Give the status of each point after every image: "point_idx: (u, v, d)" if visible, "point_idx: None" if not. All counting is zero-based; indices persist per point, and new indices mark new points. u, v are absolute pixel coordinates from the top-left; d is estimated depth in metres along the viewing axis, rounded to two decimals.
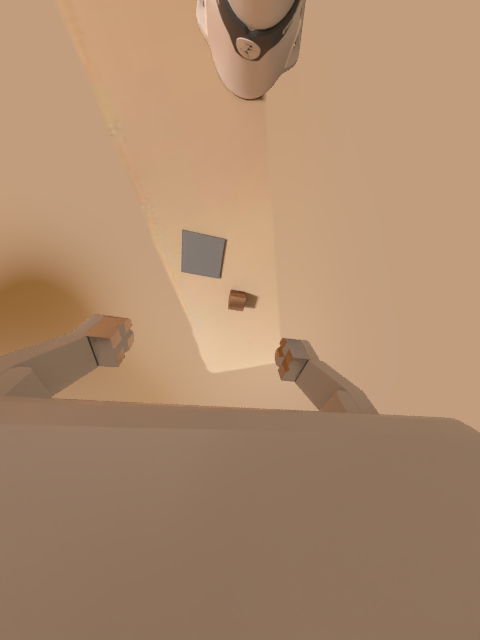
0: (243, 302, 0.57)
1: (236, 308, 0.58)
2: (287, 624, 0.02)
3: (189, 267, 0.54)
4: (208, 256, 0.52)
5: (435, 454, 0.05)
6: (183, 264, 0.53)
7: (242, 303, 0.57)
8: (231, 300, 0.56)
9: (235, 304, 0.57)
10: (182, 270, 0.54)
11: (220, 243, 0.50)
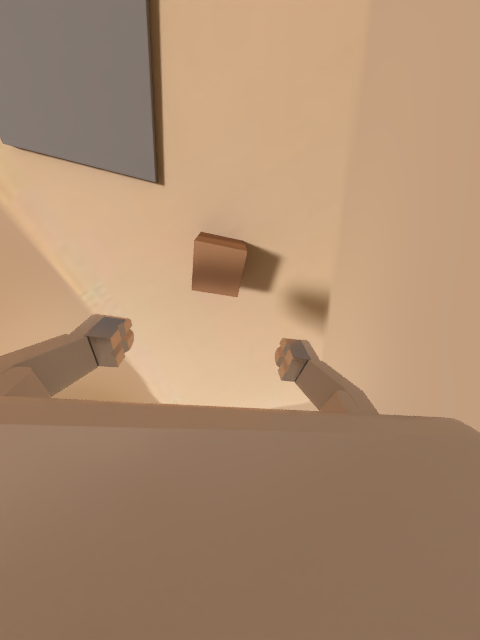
0: (239, 266, 0.17)
1: (218, 287, 0.18)
2: (287, 624, 0.02)
3: (24, 119, 0.14)
4: (87, 55, 0.12)
5: (435, 454, 0.05)
6: None
7: (237, 270, 0.17)
8: (197, 258, 0.17)
9: (214, 275, 0.18)
10: (4, 136, 0.14)
11: None
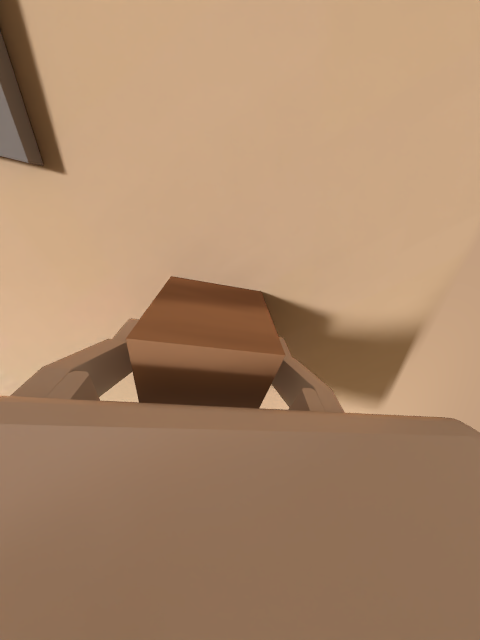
0: (258, 382, 0.07)
1: None
2: (287, 624, 0.02)
3: None
4: None
5: (435, 454, 0.05)
6: None
7: (253, 389, 0.07)
8: (145, 373, 0.06)
9: (195, 398, 0.07)
10: None
11: None
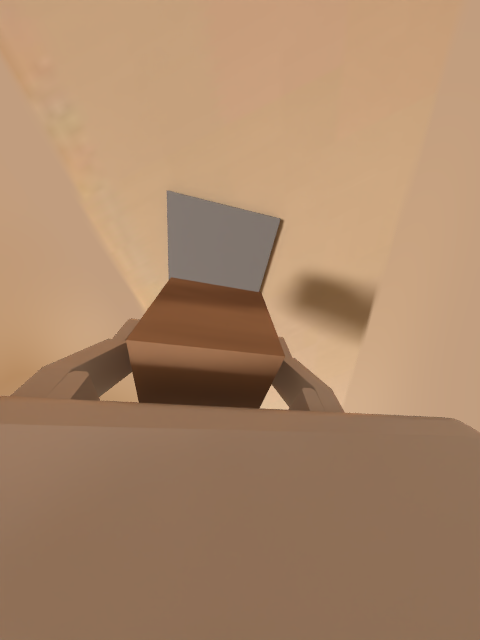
0: (258, 383, 0.07)
1: None
2: (287, 624, 0.02)
3: None
4: (234, 262, 0.21)
5: (435, 454, 0.05)
6: None
7: (253, 390, 0.07)
8: (145, 374, 0.06)
9: (195, 399, 0.07)
10: None
11: (267, 229, 0.20)
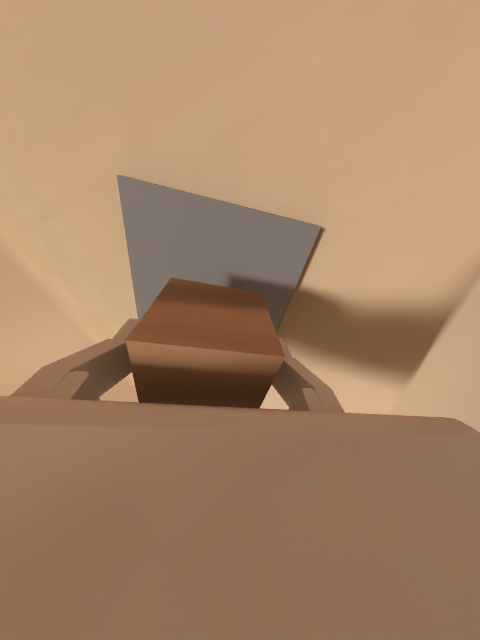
0: (258, 384, 0.07)
1: None
2: (287, 624, 0.02)
3: None
4: None
5: (435, 454, 0.05)
6: None
7: (252, 390, 0.07)
8: (145, 375, 0.06)
9: (194, 400, 0.07)
10: None
11: (296, 244, 0.12)
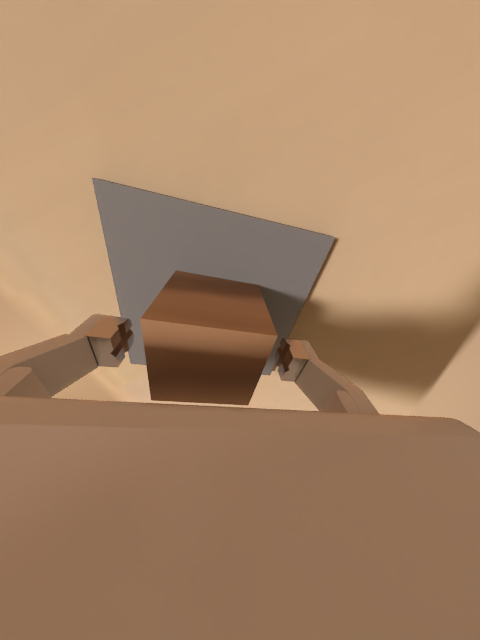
0: (254, 362, 0.07)
1: (208, 395, 0.09)
2: (287, 624, 0.02)
3: None
4: None
5: (435, 454, 0.05)
6: (134, 342, 0.13)
7: (249, 368, 0.08)
8: (155, 352, 0.07)
9: (198, 377, 0.08)
10: (134, 359, 0.14)
11: (306, 257, 0.10)
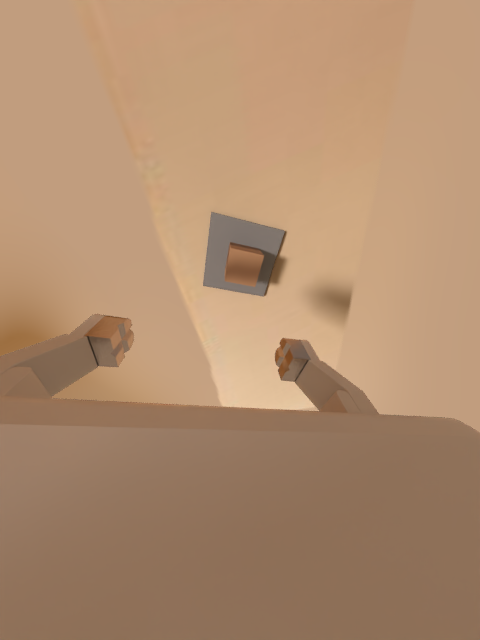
0: (257, 265, 0.26)
1: (242, 279, 0.27)
2: (287, 624, 0.02)
3: (216, 278, 0.32)
4: None
5: (435, 454, 0.05)
6: (207, 273, 0.31)
7: (256, 268, 0.26)
8: (231, 259, 0.25)
9: (240, 271, 0.26)
10: (205, 283, 0.32)
11: (275, 238, 0.29)
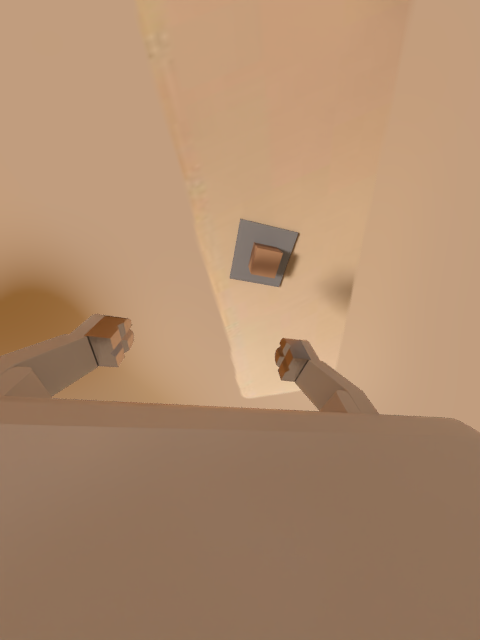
0: (277, 261, 0.33)
1: (265, 272, 0.34)
2: (287, 624, 0.02)
3: (241, 272, 0.39)
4: None
5: (435, 454, 0.05)
6: (234, 268, 0.38)
7: (276, 263, 0.33)
8: (257, 256, 0.32)
9: (264, 265, 0.33)
10: (231, 276, 0.39)
11: (290, 238, 0.35)
